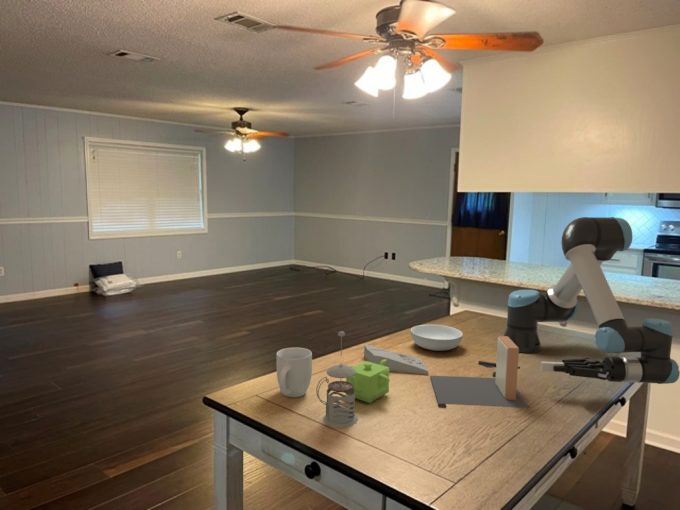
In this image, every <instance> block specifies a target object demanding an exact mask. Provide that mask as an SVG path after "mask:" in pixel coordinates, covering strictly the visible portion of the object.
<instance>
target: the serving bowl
mask: <svg viewBox="0 0 680 510" xmlns="http://www.w3.org/2000/svg"><path fill="white" fill-rule="evenodd" d="M410 335H411V336H410V337H411V339H412V341H413V342H414V344H416V345H417V346H419V347H421V348H423V349H426V350H428V351H429V350H430V351H434V352H435V351H436V352H441V351H442V352H443V351H449V350H453V349H455V348H457V347H458V346H459V345H460V344H461V342H462V340H463V337H464V332H462V331H461V330H460V329H458V328H455V327H452V326H448V325H442V324H421V325H415V326H413V327H411V329H410Z"/></svg>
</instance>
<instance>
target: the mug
mask: <svg viewBox="0 0 680 510" xmlns="http://www.w3.org/2000/svg"><path fill="white" fill-rule="evenodd" d="M275 357H276V361H275V362H276V367H275V368H276V377H277V378H276V379H277V382H278V386H279V391H280V392H281V394H283V395H284V396H285V397H287V398H300V397H303V396H304V395H305V394H306V393H307V391H308V389H309V386H310V384H311V381H312V374H313V373H312V372H313V353H312V351H311V350H310V349H308V348H305V347H304V348H303V347H286V348H285V347H284V348H282V349H280V350H278V351H276V356H275Z"/></svg>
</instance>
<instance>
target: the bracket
mask: <svg viewBox="0 0 680 510" xmlns="http://www.w3.org/2000/svg"><path fill="white" fill-rule="evenodd" d="M477 364H478V365H480V366H482V367H485V368H490V369H491V368H492V369H494V368H496V362H489V361H483V360H478V363H477ZM518 369H519V370H520V369H521V366H518ZM492 378H496V371H494V372H493V373H492Z"/></svg>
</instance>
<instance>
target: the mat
mask: <svg viewBox="0 0 680 510" xmlns="http://www.w3.org/2000/svg"><path fill="white" fill-rule="evenodd" d="M429 377H430V378H429V379H430V382H431V386H432V388H433V392H434V396H435V399H436V403H437V406H438V407H439V408H440V407H441V408H447V405H459V406H460V405H462V406H464V405H465V406H479V407H480V406H482V407H484V406H485V407H486V406H487V407H504V408H506V407H507V408H509V407H511V408H528V409H529V408H530V406H529V405H528V403H527V402H526V400H525V399H524V398H523V396H522V395H521V394H520V392H519V391H518V390H517V388H516V400H509V399H505V398H504V396H503V395H502V393H501V391H500V390H499V388H498V387H497V385H496V383H495V379H496V377H481V376H480V377H477V376H457V375H456V376H452V375H449V376H448V375H430V376H429Z"/></svg>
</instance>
